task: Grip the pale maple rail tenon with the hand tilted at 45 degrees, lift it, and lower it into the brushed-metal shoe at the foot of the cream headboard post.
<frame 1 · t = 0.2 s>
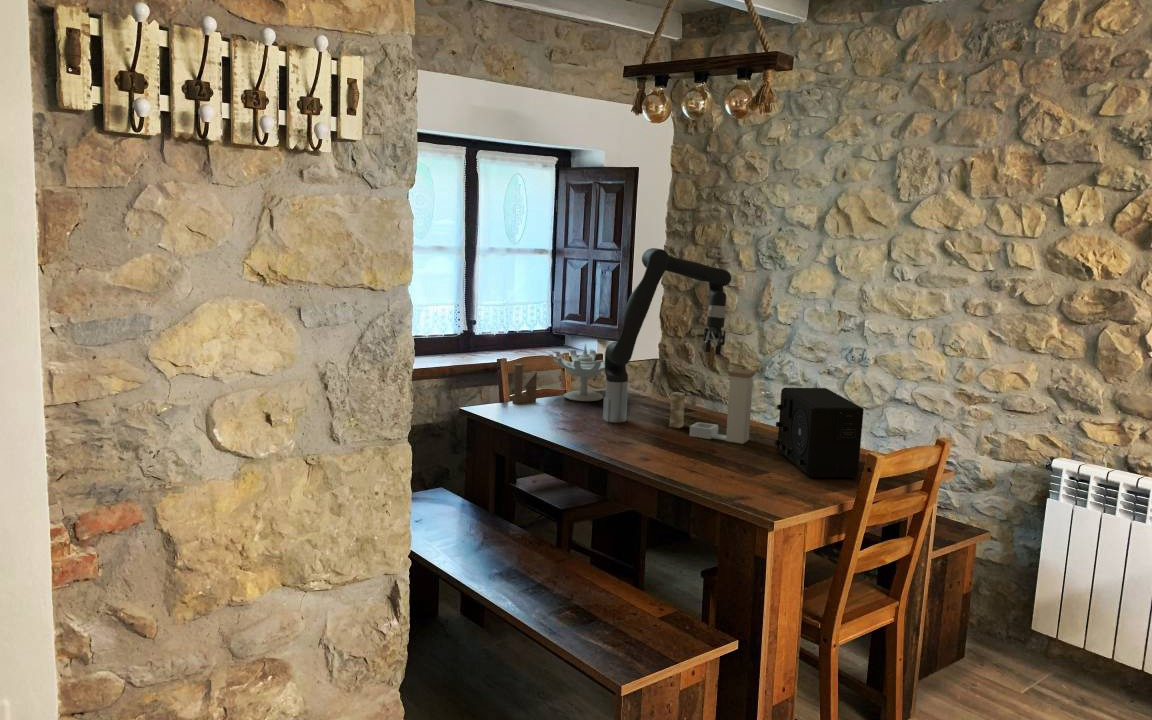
hand: (712, 353, 385), 28 cm above the table, tool pointing down, fingers open, 8 cm apart
vintage radio: (811, 465, 319), on the table
headboard post: (703, 435, 357), on the table
wooden block: (524, 403, 406), on the table
candelabra: (583, 398, 419), on the table
rail tenon: (676, 426, 370), on the table
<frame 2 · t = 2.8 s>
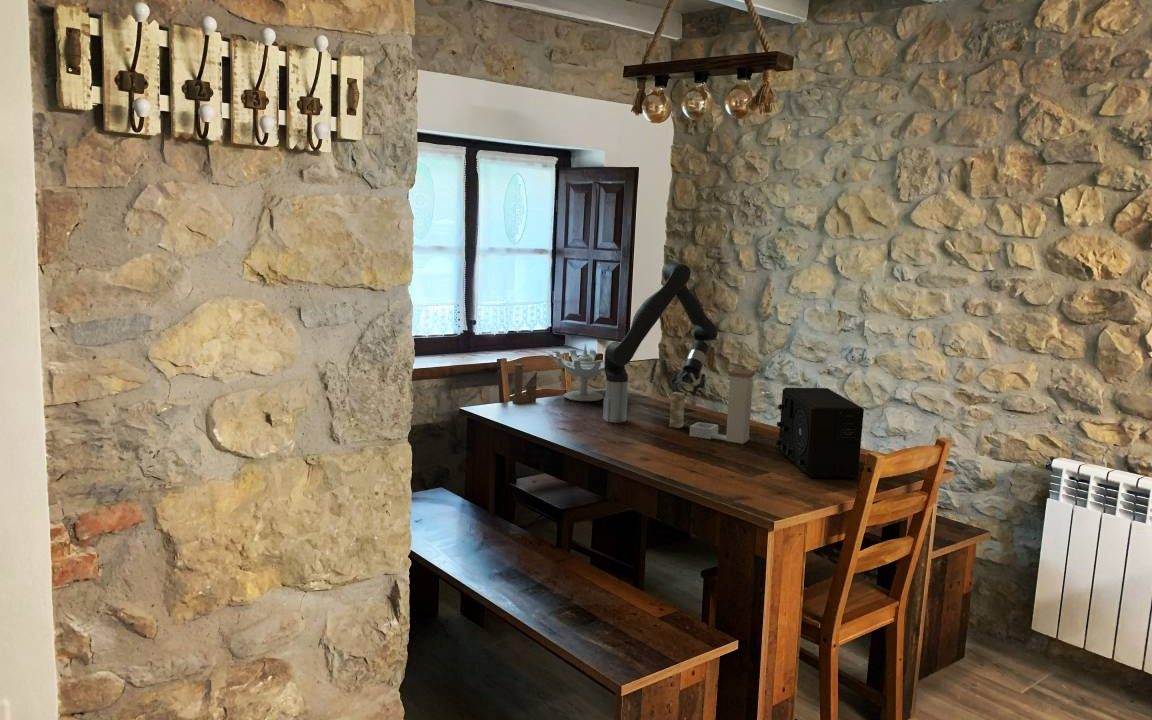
hand: (683, 393, 373), 13 cm above the table, tool tilted 45°, fingers open, 8 cm apart
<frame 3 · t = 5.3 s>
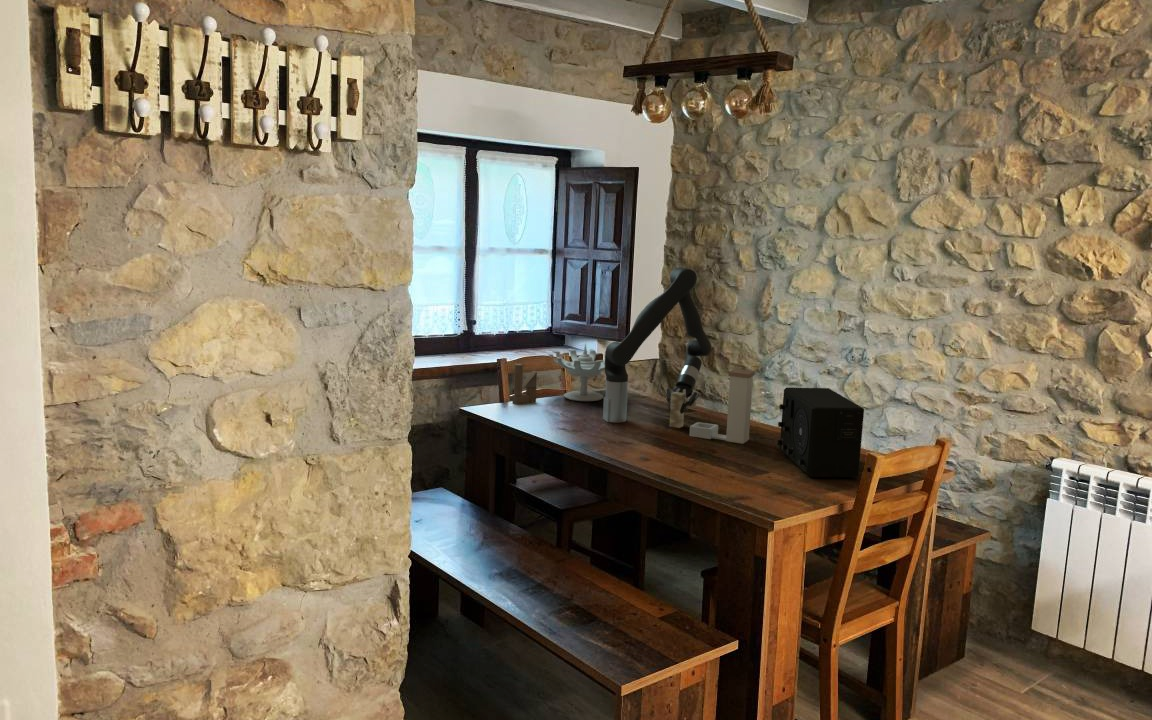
hand: (675, 411, 367), 7 cm above the table, tool tilted 45°, fingers closed on rail tenon, 4 cm apart
rail tenon: (676, 426, 370), on the table, touching gripper
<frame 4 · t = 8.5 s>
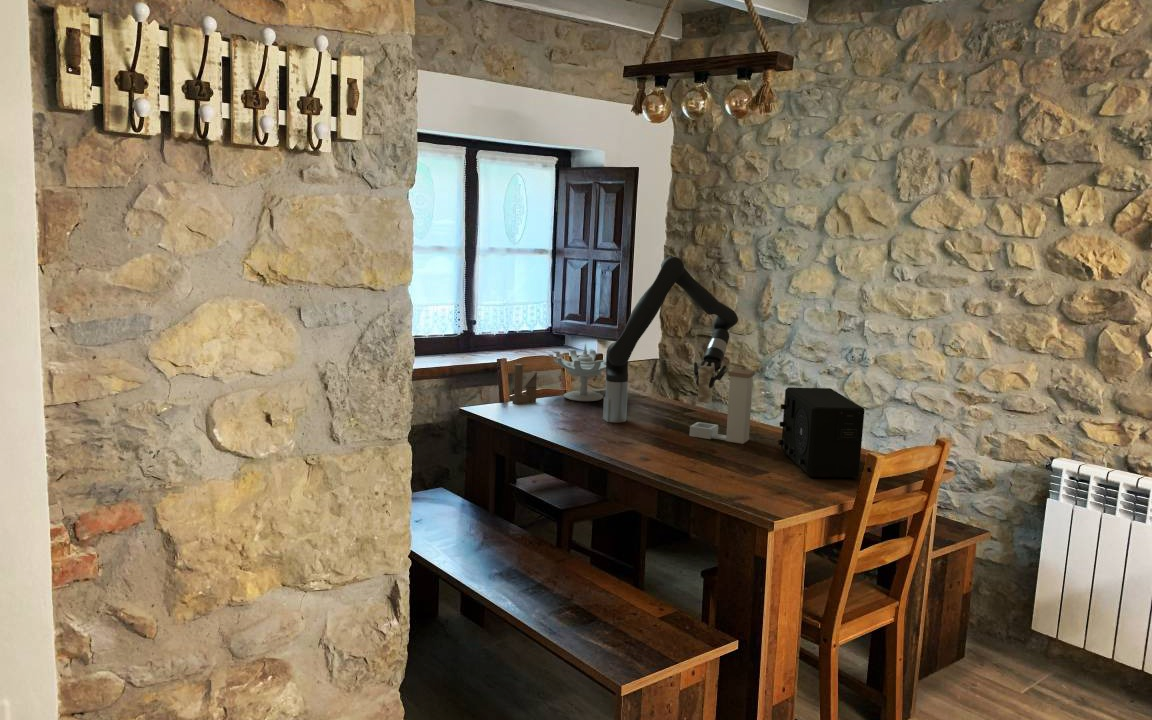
hand: (704, 385, 353), 20 cm above the table, tool tilted 45°, fingers closed on rail tenon, 4 cm apart
rail tenon: (704, 401, 355), point 14 cm above the table, touching gripper
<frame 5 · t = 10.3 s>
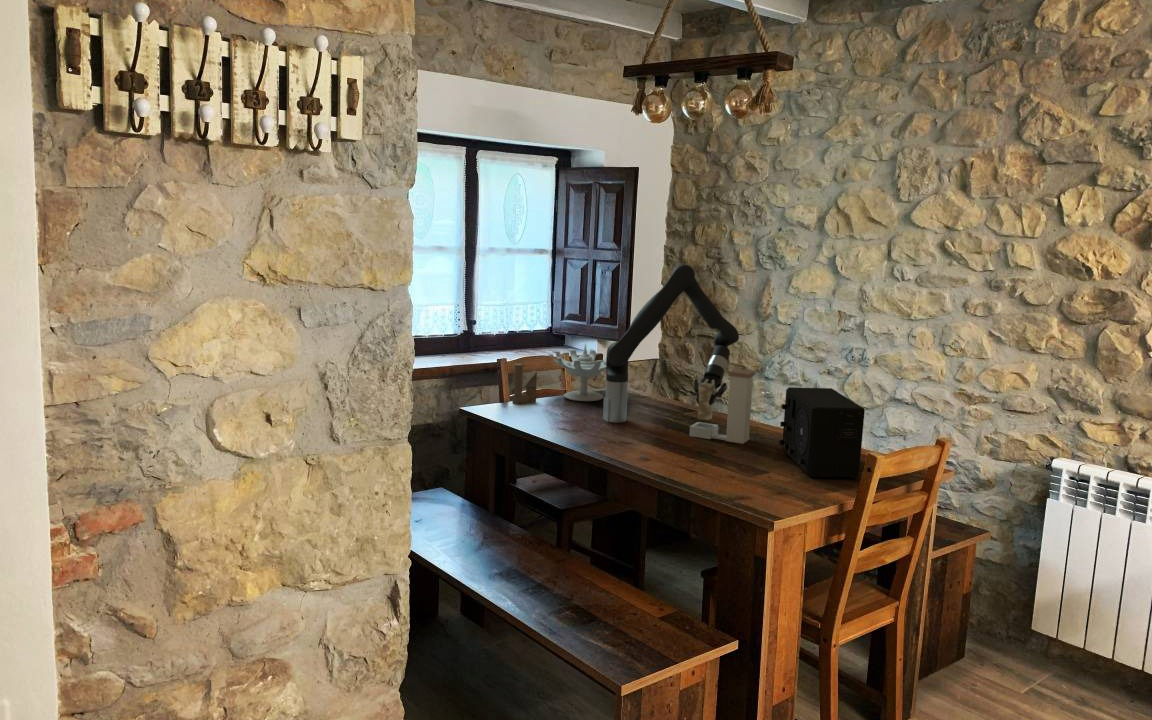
hand: (704, 403, 353), 13 cm above the table, tool tilted 45°, fingers closed on rail tenon, 4 cm apart
rail tenon: (704, 418, 355), point 7 cm above the table, touching gripper
when the fingers open (8 cm above the table, at t = 11.9 s): rail tenon drops 2 cm, resting in headboard post.
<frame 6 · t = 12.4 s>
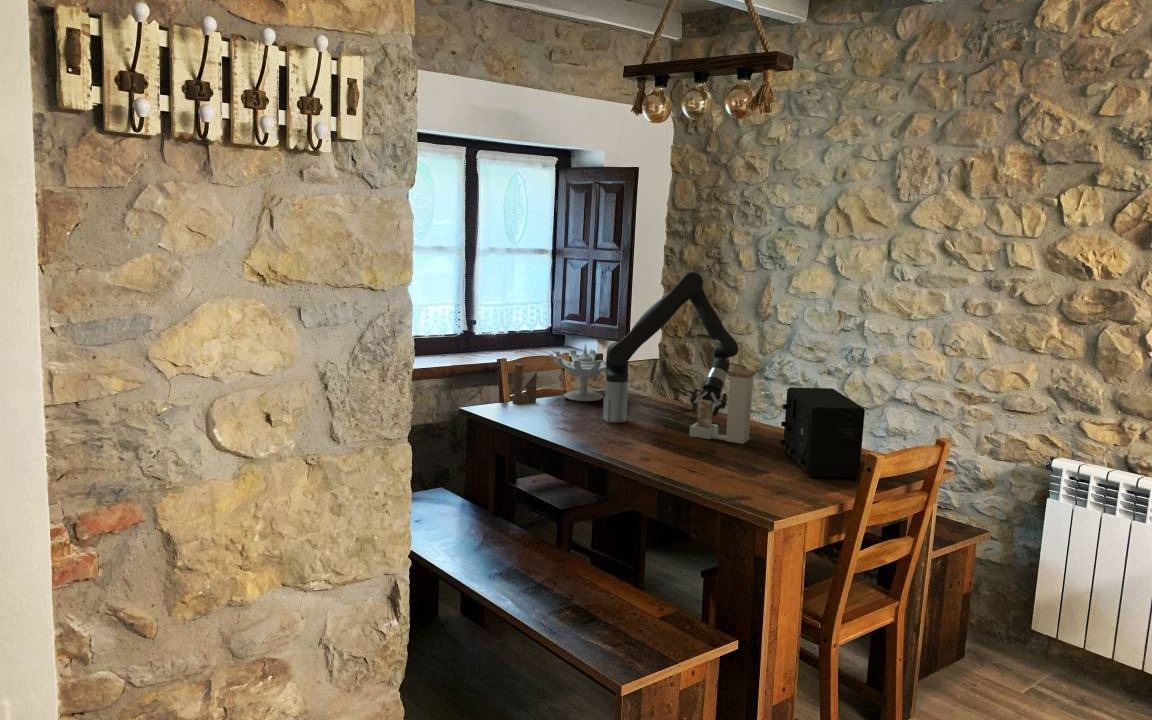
hand: (703, 414, 354), 9 cm above the table, tool tilted 45°, fingers open, 8 cm apart
rail tenon: (703, 435, 357), resting in headboard post
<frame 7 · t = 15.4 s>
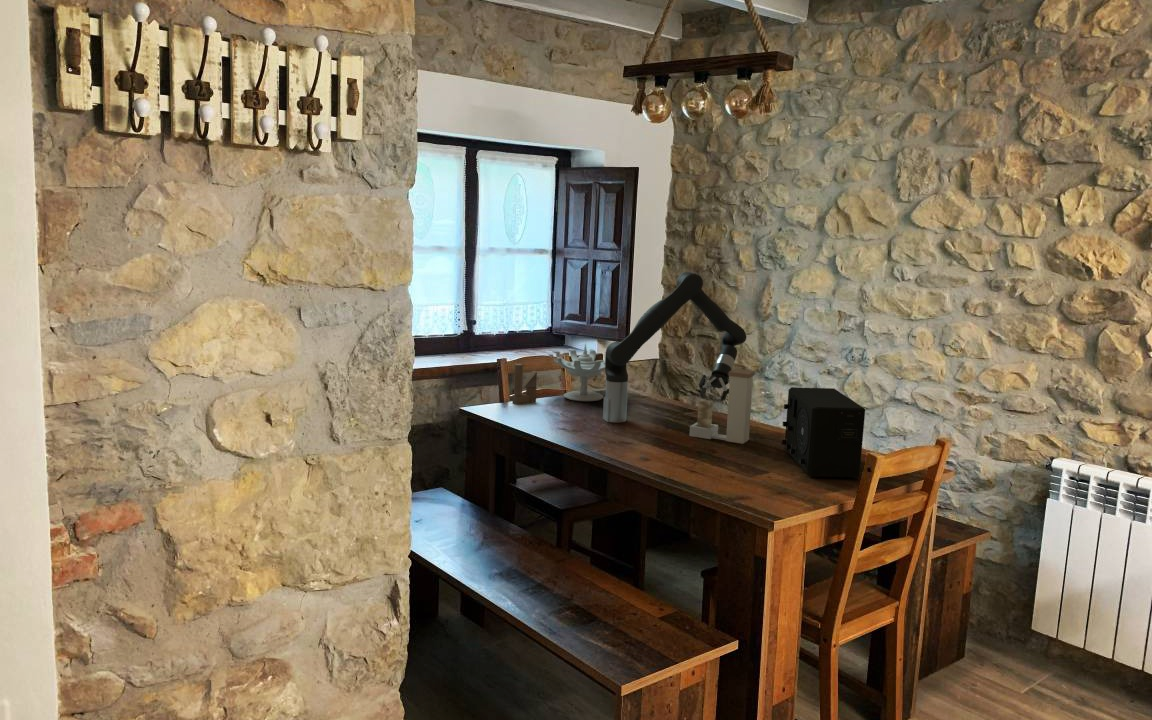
hand: (712, 398, 366), 13 cm above the table, tool tilted 45°, fingers open, 8 cm apart
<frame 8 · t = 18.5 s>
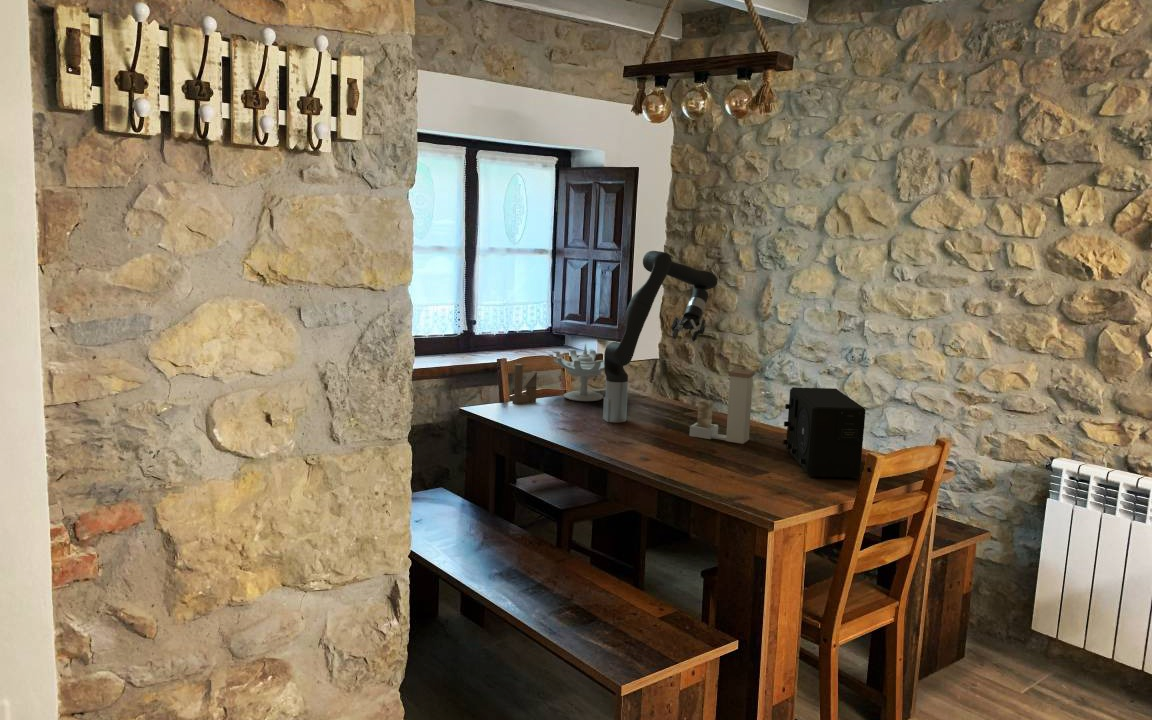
hand: (683, 339, 379), 35 cm above the table, tool tilted 45°, fingers open, 8 cm apart
at the end: rail tenon 0.1 cm off-centre on the headboard post, point 0.0 cm above the headboard post's base; rail tenon tilted 0°; the gripper is holding nothing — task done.
